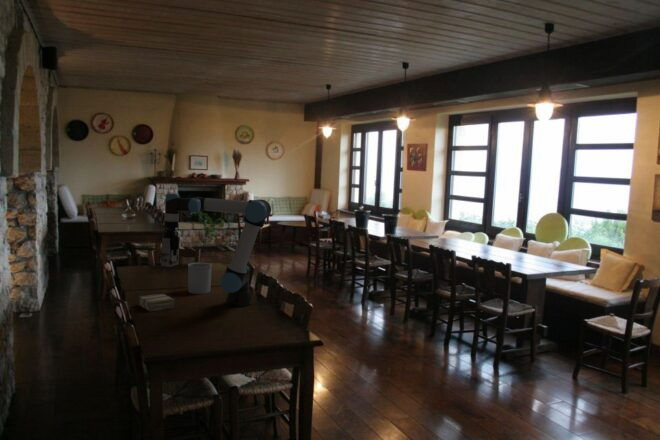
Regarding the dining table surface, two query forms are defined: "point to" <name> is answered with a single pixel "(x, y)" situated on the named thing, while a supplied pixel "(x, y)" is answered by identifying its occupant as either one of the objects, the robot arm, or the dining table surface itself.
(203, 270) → the utensil holder
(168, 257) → the coffee box
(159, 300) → the dock
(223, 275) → the robot arm
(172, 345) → the dining table surface
